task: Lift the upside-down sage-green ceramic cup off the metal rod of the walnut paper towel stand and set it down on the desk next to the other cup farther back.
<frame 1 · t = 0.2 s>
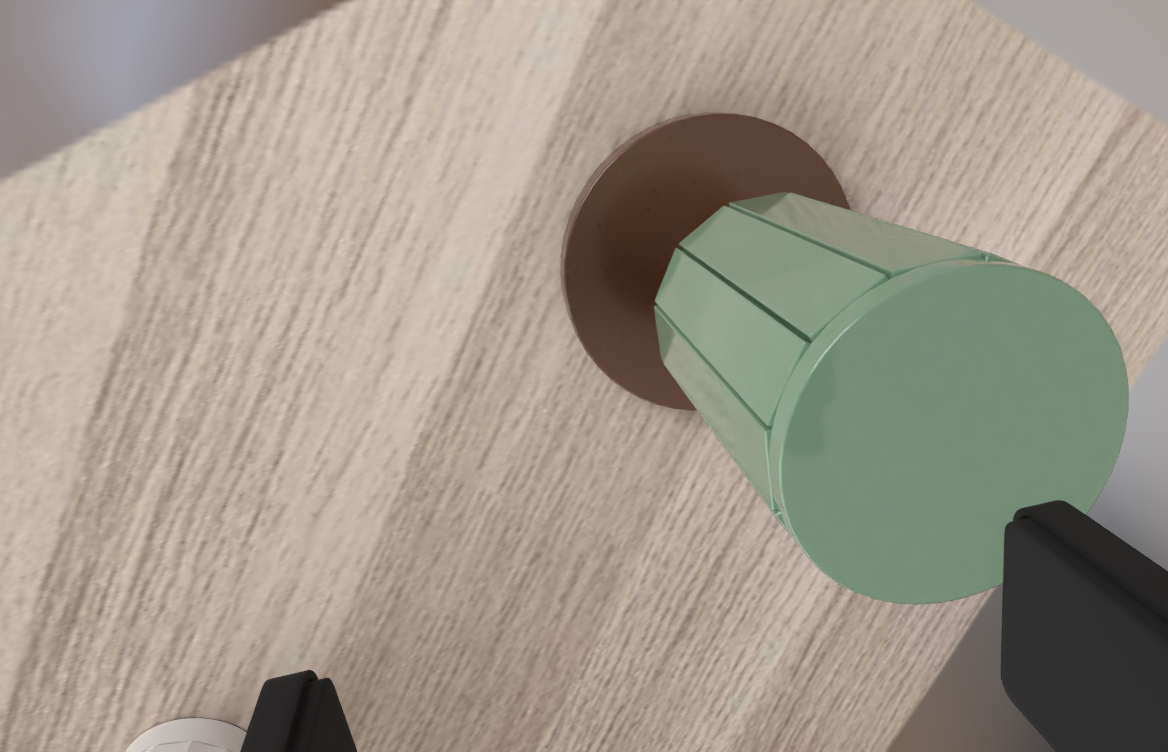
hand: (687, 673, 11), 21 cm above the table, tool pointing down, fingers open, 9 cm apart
green cup: (766, 310, 24), point 7 cm above the table, touching towel stand
towel stand: (704, 264, 30), on the table
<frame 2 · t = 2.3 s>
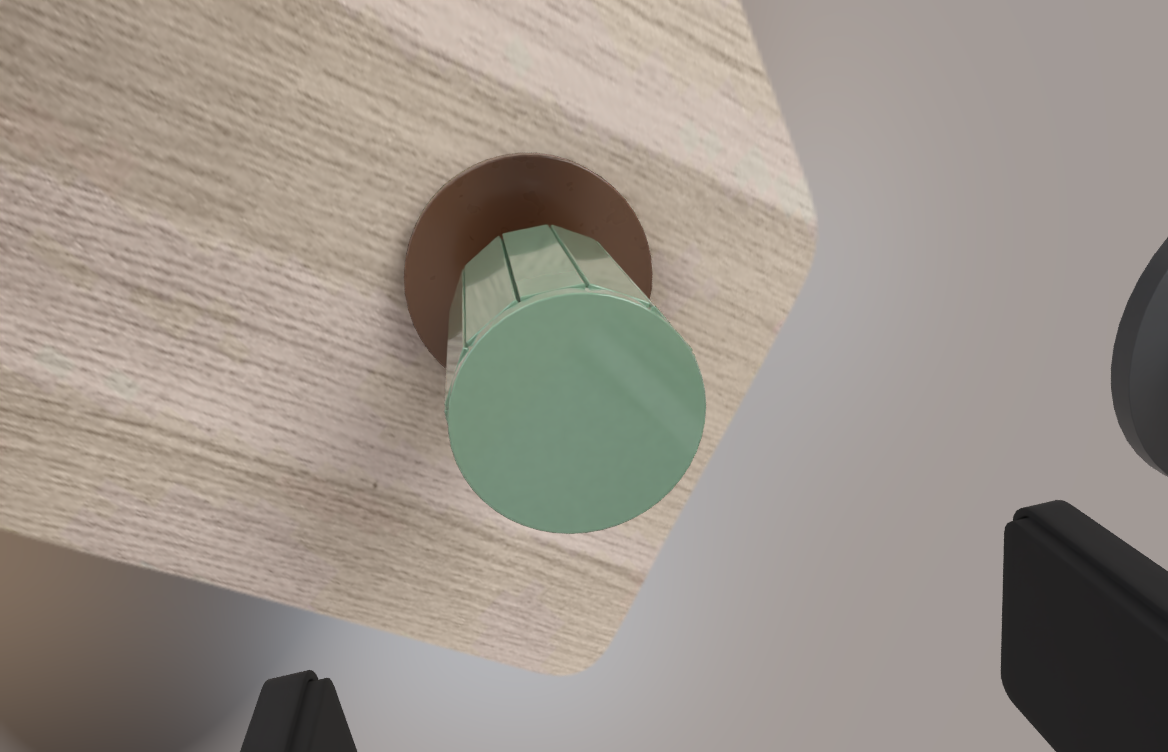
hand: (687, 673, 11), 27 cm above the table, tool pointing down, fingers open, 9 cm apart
green cup: (543, 317, 30), point 7 cm above the table, touching towel stand
towel stand: (528, 277, 36), on the table
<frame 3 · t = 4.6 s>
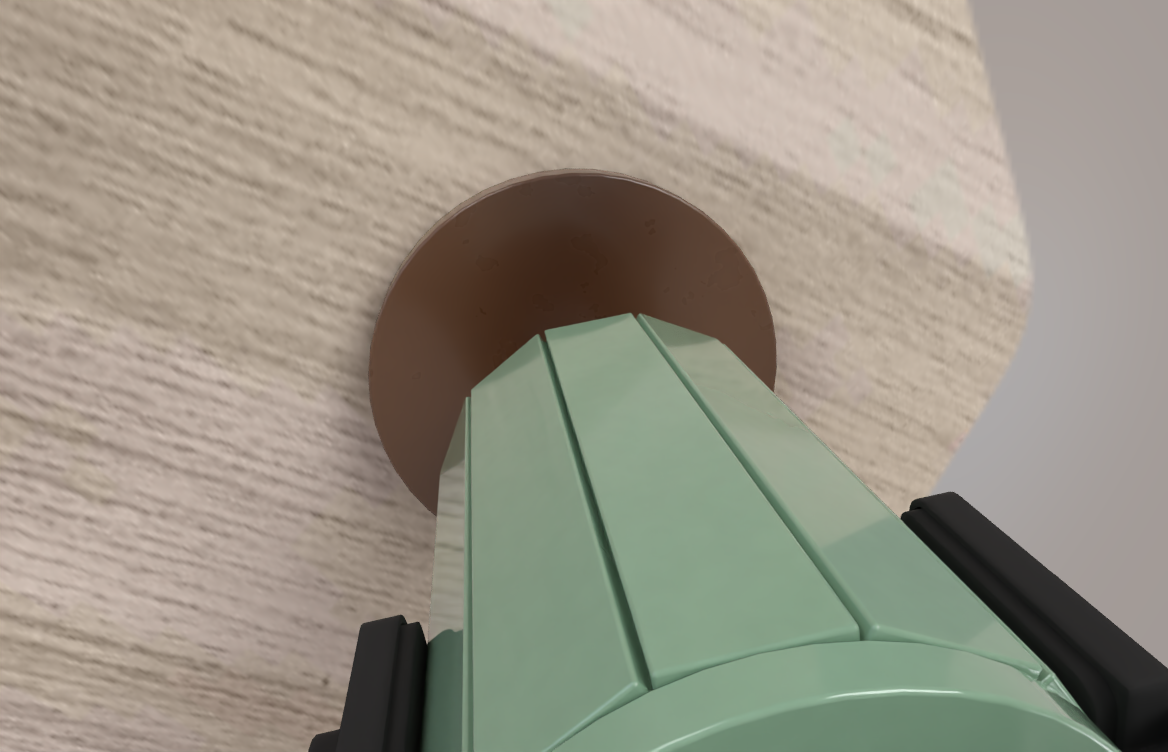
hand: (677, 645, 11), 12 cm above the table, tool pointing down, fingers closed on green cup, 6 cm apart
green cup: (615, 479, 16), point 7 cm above the table, touching gripper, towel stand
towel stand: (574, 369, 22), on the table
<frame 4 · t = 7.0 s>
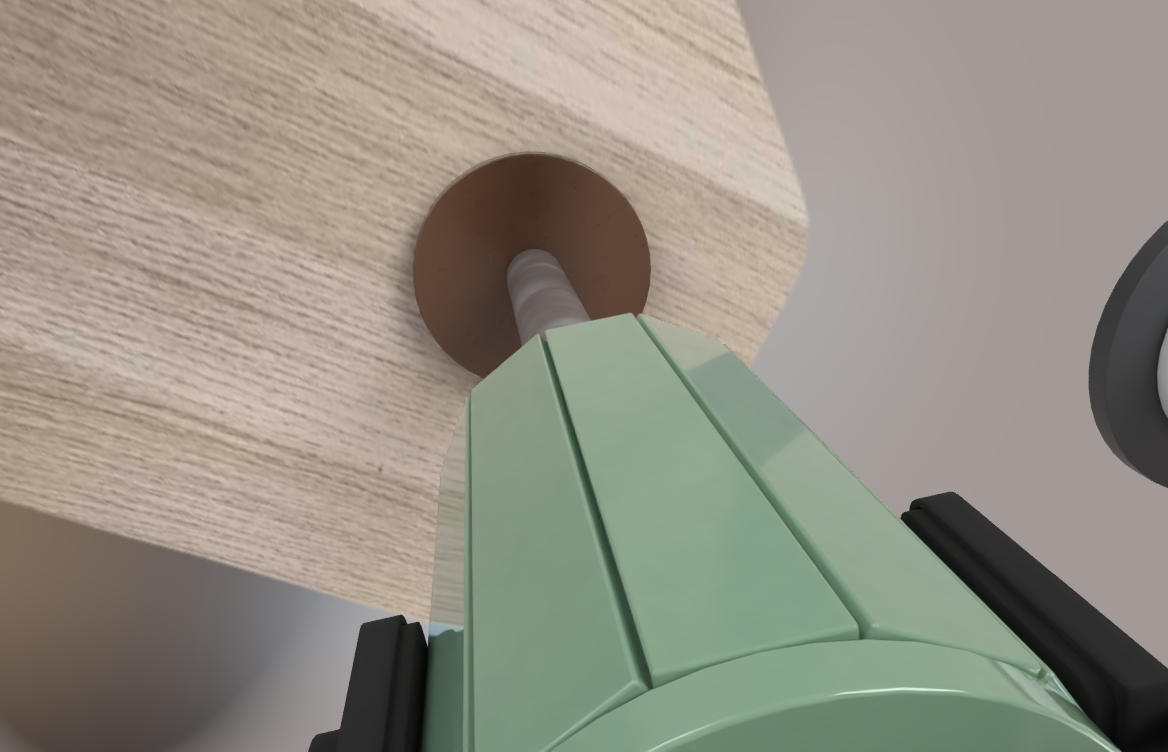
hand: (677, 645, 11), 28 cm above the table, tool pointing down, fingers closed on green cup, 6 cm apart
green cup: (615, 479, 16), point 23 cm above the table, touching gripper
towel stand: (532, 271, 38), on the table
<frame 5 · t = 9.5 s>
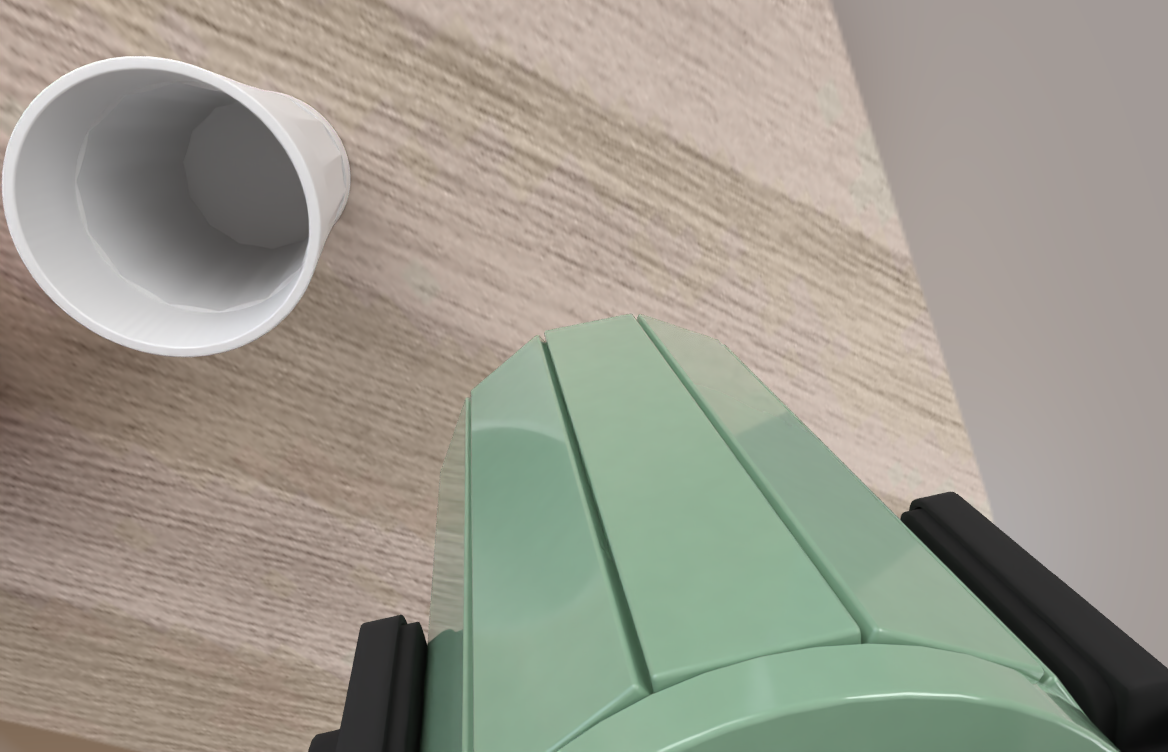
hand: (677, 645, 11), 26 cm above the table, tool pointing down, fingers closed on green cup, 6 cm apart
green cup: (615, 480, 16), point 21 cm above the table, touching gripper
cup: (271, 171, 33), on the table
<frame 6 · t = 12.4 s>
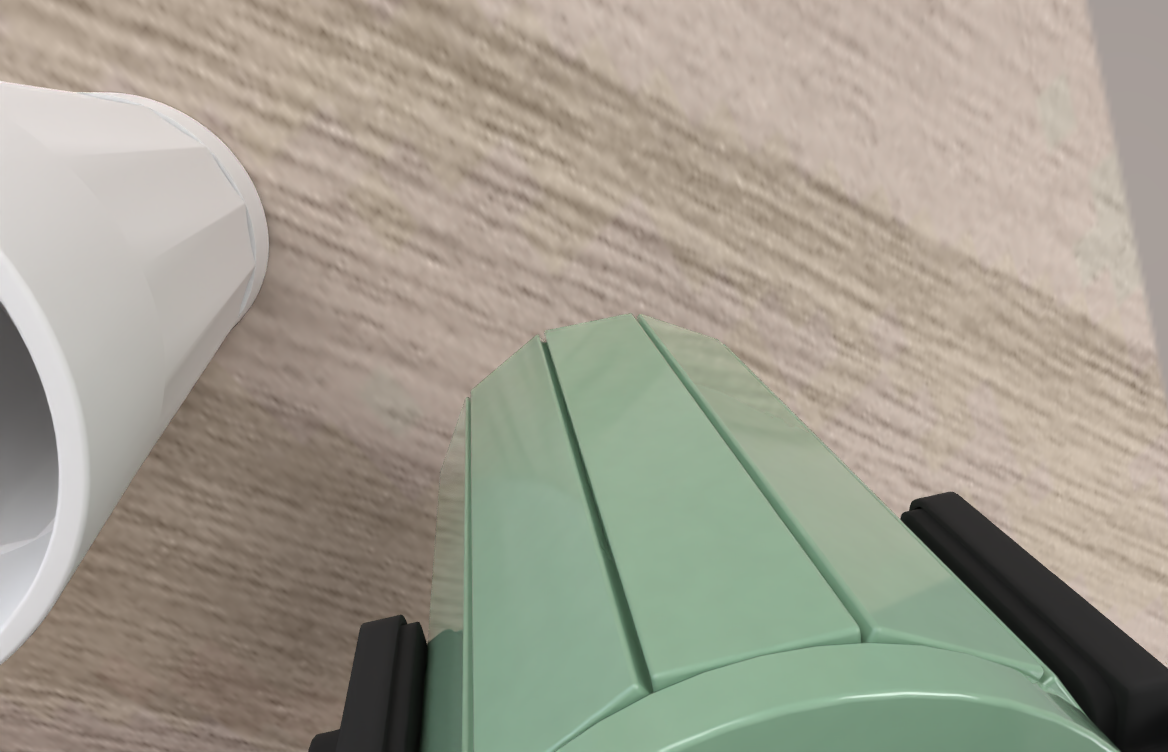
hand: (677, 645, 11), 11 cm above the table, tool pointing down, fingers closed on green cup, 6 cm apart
green cup: (615, 480, 16), point 6 cm above the table, touching gripper
cup: (134, 230, 19), on the table
when the fingers open (5 cm above the table, at t = 14.4 s): green cup stays where it is, on the table.
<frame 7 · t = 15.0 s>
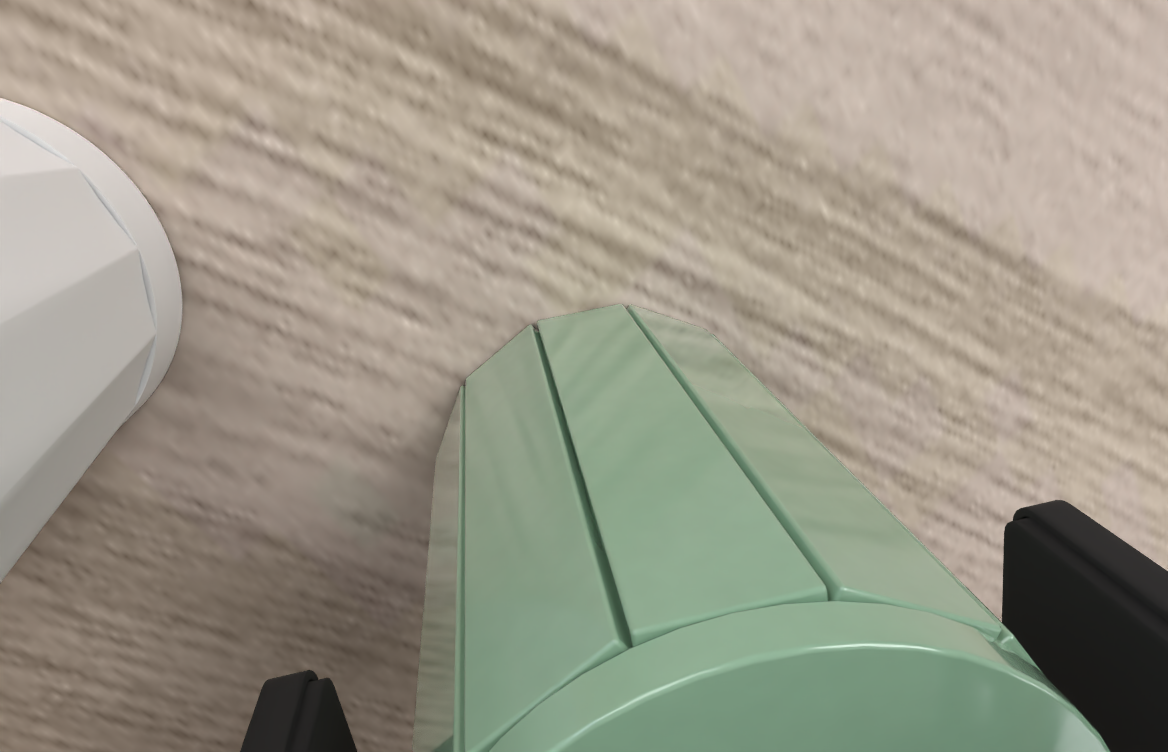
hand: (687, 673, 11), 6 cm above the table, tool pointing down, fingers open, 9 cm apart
green cup: (607, 467, 17), on the table
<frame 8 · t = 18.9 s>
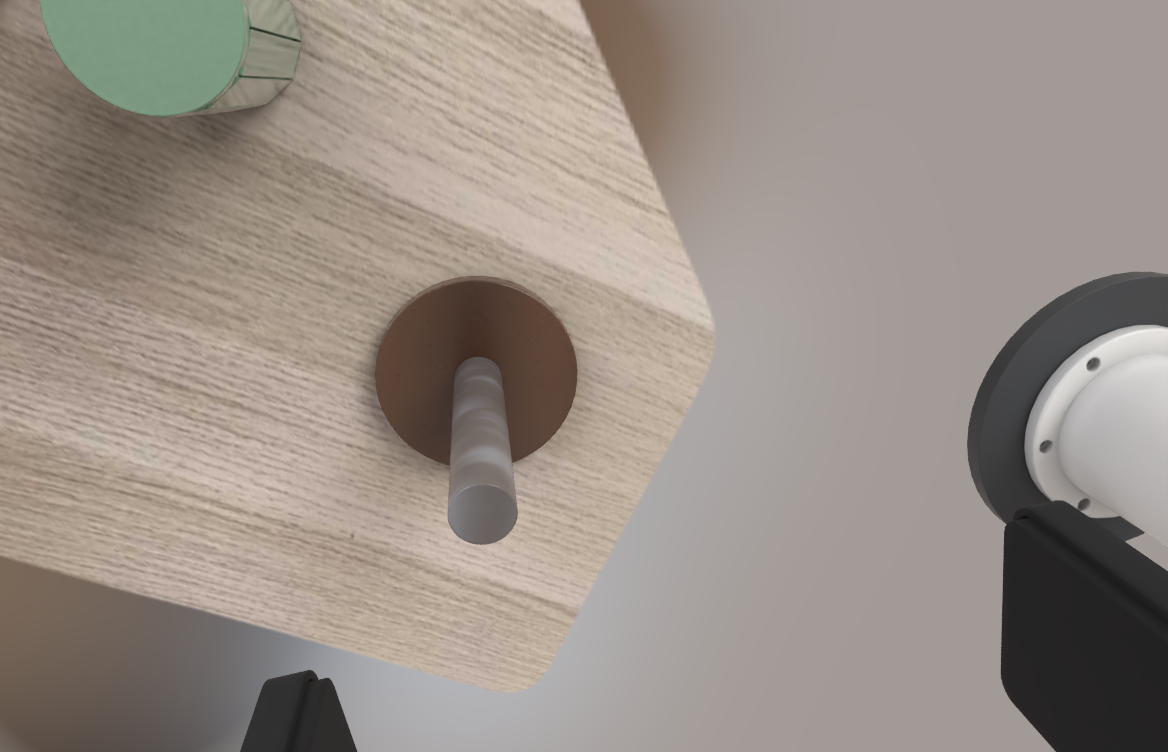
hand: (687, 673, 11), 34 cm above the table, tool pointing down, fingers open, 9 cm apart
green cup: (224, 33, 38), on the table
towel stand: (477, 371, 45), on the table
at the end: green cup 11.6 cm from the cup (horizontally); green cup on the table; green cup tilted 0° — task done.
